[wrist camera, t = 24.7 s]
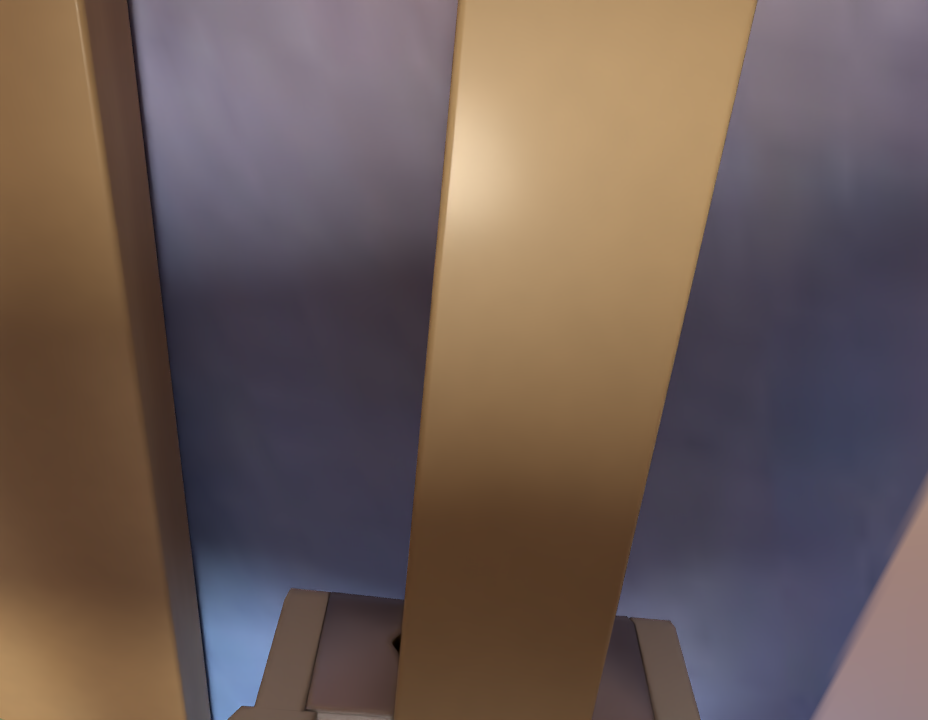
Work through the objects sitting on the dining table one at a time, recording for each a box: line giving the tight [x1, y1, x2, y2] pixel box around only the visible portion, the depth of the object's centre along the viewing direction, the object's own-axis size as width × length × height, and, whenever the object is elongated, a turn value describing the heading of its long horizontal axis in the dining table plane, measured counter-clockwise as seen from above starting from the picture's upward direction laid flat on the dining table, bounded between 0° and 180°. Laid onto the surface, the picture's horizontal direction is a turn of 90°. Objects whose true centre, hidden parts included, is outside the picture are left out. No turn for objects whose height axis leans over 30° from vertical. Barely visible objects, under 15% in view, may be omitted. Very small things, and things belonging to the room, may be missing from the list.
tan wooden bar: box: [394, 0, 758, 720], centre depth 9 cm, size 18×5×3 cm, turn 174°
